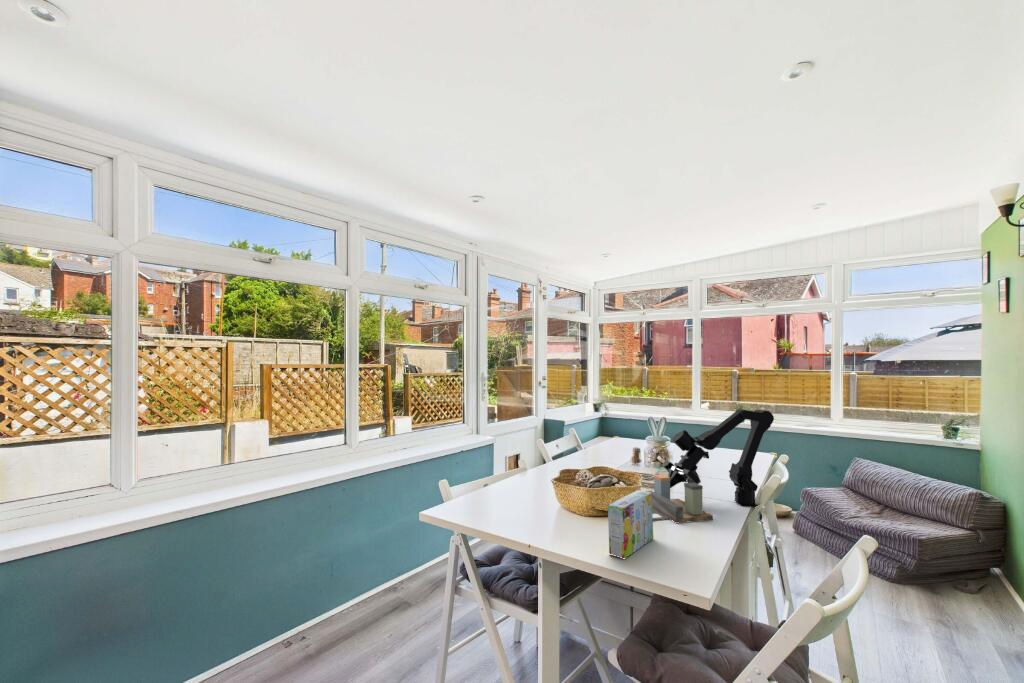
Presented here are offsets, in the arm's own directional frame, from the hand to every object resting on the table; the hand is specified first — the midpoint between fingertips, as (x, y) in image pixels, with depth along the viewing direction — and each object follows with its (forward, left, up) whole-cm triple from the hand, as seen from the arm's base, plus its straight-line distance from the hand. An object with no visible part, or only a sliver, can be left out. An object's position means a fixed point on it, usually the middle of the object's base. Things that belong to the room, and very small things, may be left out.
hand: (667, 488), depth 185 cm
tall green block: (-6, +13, -5) cm, 15 cm away
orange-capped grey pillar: (+2, +1, -5) cm, 6 cm away
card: (+10, +10, -7) cm, 15 cm away
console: (-2, +7, -7) cm, 10 cm away
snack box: (+23, +42, -7) cm, 48 cm away
